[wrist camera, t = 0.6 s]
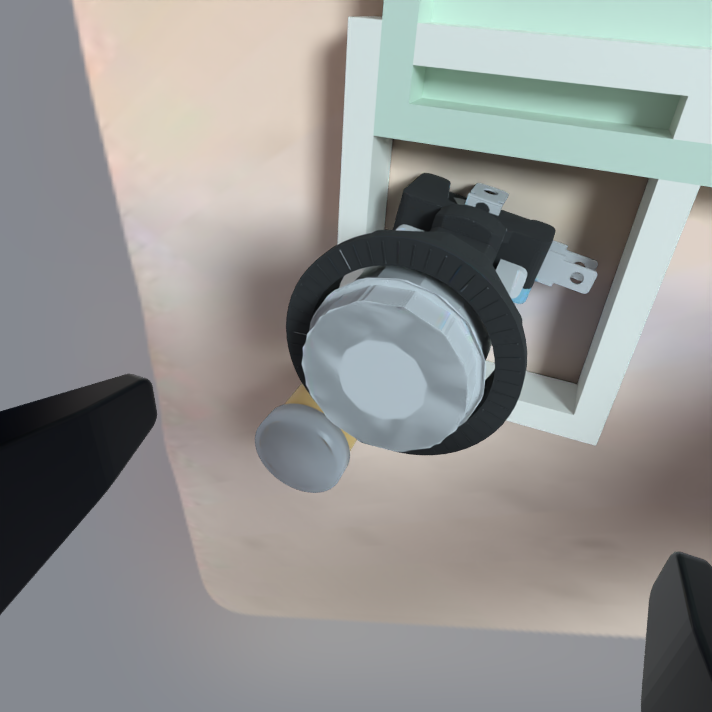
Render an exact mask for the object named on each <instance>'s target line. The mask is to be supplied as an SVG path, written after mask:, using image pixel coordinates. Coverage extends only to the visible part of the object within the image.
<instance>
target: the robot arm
mask: <svg viewBox="0 0 712 712" xmlns="http://www.w3.org/2000/svg"><path fill="white" fill-rule="evenodd" d="M156 418H157V410H156V404H155V398H154V392H153V386H152V383H151V382H150V381H149V380H148V379H146V378H143V377H140V376H136V375H134V374H126V375H122V376H119V377H115V378H112V379H109V380H105V381H102V382H99V383H95V384H92V385H88V386H85V387H81V388H78V389H75V390H71V391H68V392H65V393H61V394H58V395H54V396H51V397H48V398H44V399H41V400H37V401H34V402H30V403H27V404H24V405H20V406H17V407H14V408H10V409H7V410H3V411H0V615H1V613H2V612H3V611H4V610H5V609H6V608H7V606H8V605H9V604H10V603H11V602H12V601H13V600H14V598H15V597H16V596H17V595H18V594H19V593H20V592H21V590H22V589H23V588H24V587H25V586H26V585H27V583H28V582H29V581H30V580H31V579H32V578H33V576H34V575H35V574H36V573H37V572H38V571H39V569H40V568H41V567H42V566H43V565H44V564H45V563H46V561H47V560H48V559H49V558H50V557H51V556H52V554H53V553H54V552H55V551H56V550H57V549H58V548H59V546H60V545H61V544H62V543H63V542H64V541H65V539H66V538H67V537H68V536H69V535H70V534H71V532H72V531H73V530H74V529H75V528H76V527H77V526H78V524H79V523H80V522H81V521H82V520H83V519H84V517H85V516H86V515H87V514H88V513H89V512H90V510H91V509H92V508H93V507H94V506H95V505H96V504H97V502H98V501H99V500H100V499H101V498H102V496H103V495H104V494H105V493H106V492H107V490H108V489H109V488H110V486H111V485H112V484H113V482H114V481H115V480H116V478H117V477H118V476H119V474H120V473H121V471H122V470H123V468H124V467H125V466H126V464H127V462H128V461H129V460H130V459H131V457H132V456H133V454H134V453H135V451H136V450H137V448H138V447H139V446H140V444H141V443H142V442H143V440H144V439H145V437H146V436H147V434H148V433H149V432H150V430H151V429H152V427H153V426H154V424H155V421H156ZM641 712H712V566H711V565H710V564H709V563H708V562H707V561H705V560H704V559H701V558H698V557H695V556H692V555H689V554H686V553H683V552H674V553H673V554H672V555H671V556H670V557H669V559H668V560H667V562H666V564H665V566H664V567H663V569H662V571H661V573H660V574H659V576H658V578H657V579H656V581H655V583H654V585H653V587H652V590H651V593H650V598H649V608H648V620H647V632H646V646H645V657H644V670H643V681H642V696H641Z"/></svg>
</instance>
